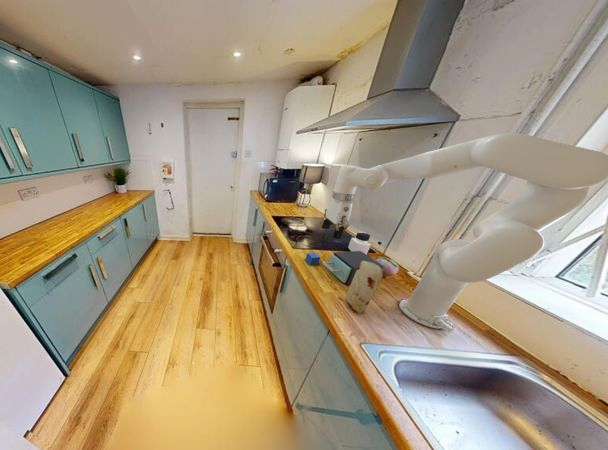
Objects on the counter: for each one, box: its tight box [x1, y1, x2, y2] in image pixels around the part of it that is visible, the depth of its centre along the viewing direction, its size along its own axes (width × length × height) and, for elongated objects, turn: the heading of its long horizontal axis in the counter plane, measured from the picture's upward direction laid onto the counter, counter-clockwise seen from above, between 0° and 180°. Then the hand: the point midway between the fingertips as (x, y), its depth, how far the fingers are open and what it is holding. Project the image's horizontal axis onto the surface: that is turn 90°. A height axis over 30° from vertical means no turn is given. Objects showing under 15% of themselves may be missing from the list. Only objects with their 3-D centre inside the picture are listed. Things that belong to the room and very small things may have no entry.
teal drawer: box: [321, 254, 352, 284], centre depth 93 cm, size 19×11×8 cm, turn 97°
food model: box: [346, 261, 383, 314], centre depth 74 cm, size 10×7×20 cm
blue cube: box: [305, 252, 321, 266], centre depth 104 cm, size 4×4×4 cm
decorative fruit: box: [374, 256, 400, 277], centre depth 95 cm, size 9×8×10 cm
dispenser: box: [332, 251, 384, 286], centre depth 94 cm, size 15×13×10 cm
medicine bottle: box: [347, 231, 372, 256], centre depth 114 cm, size 7×7×12 cm
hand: (330, 233), depth 89 cm, fingers open, 9 cm apart
